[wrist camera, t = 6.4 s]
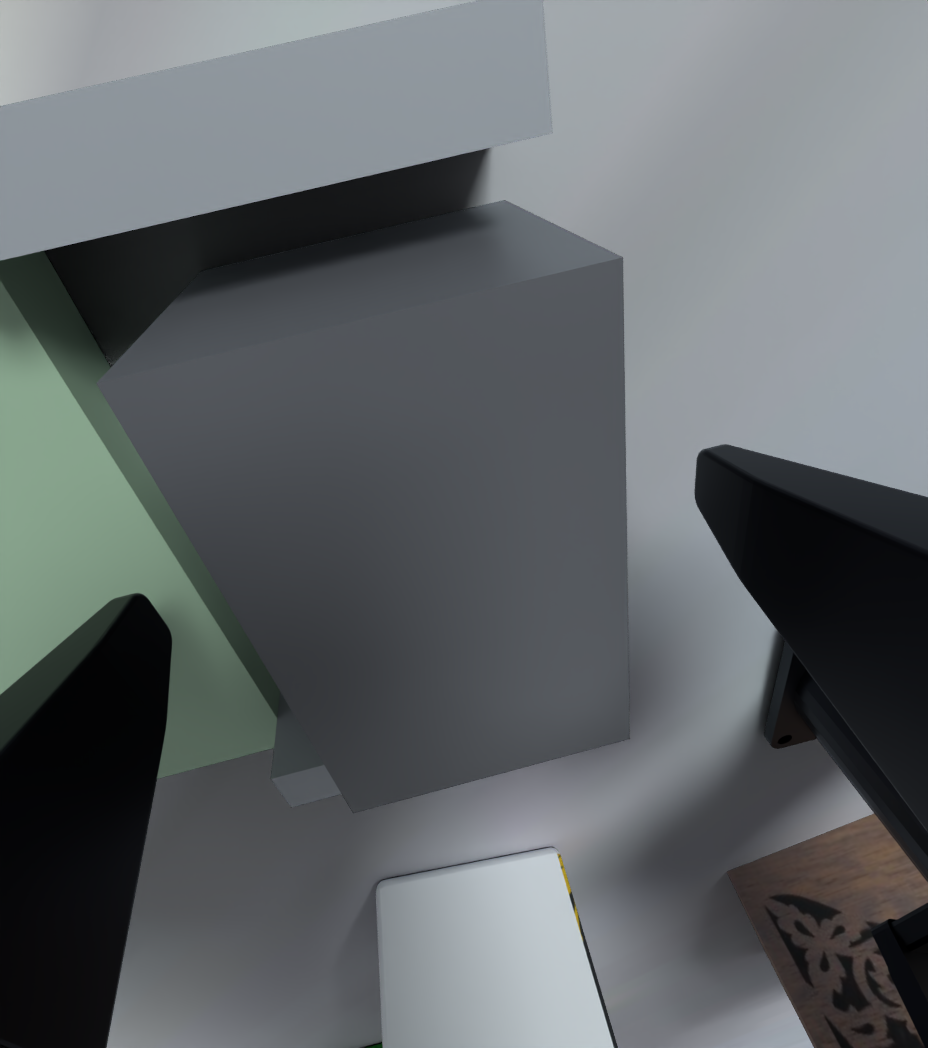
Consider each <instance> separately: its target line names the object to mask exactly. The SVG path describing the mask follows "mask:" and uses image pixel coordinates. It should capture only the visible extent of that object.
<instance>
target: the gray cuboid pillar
mask: <svg viewBox="0 0 928 1048" xmlns="http://www.w3.org/2000/svg"><path fill="white" fill-rule="evenodd" d="M96 384H97V386H98V387H99V389H100V391H101V392H102V394H103V396H104V397H105V399H106V401H107V402H108V404H109V406H110V407H111V409H112V411H113V412H114V414H115V416H116V417H117V419H118V421H119V422H120V424H121V426H122V428H123V429H124V431H125V433H126V434H127V436H128V438H129V439H130V441H131V443H132V444H133V446H134V448H135V449H136V451H137V453H138V454H139V456H140V458H141V459H142V461H143V463H144V464H145V466H146V468H147V469H148V471H149V473H150V474H151V476H152V478H153V479H154V481H155V483H156V484H157V486H158V488H159V489H160V491H161V493H162V494H163V496H164V498H165V499H166V501H167V503H168V504H169V506H170V508H171V509H172V511H173V513H174V514H175V516H176V518H177V520H178V521H179V523H180V525H181V526H182V528H183V530H184V531H185V533H186V535H187V536H188V538H189V540H190V541H191V543H192V545H193V546H194V548H195V550H196V551H197V553H198V555H199V556H200V558H201V560H202V561H203V563H204V565H205V566H206V568H207V570H208V571H209V573H210V575H211V576H212V578H213V580H214V581H215V583H216V585H217V586H218V588H219V590H220V591H221V593H222V595H223V596H224V598H225V600H226V601H227V603H228V605H229V606H230V608H231V610H232V612H233V613H234V615H235V617H236V618H237V620H238V622H239V623H240V625H241V627H242V628H243V630H244V632H245V633H246V635H247V637H248V638H249V640H250V642H251V643H252V645H253V647H254V648H255V650H256V652H257V653H258V655H259V657H260V658H261V660H262V662H263V663H264V665H265V667H266V668H267V670H268V672H269V673H270V675H271V677H272V678H273V680H274V682H275V683H276V685H277V687H278V688H279V690H280V692H281V693H282V695H283V697H284V699H285V700H286V702H287V704H288V705H289V707H290V709H291V710H292V712H293V714H294V715H295V717H296V719H297V720H298V722H299V724H300V725H301V727H302V729H303V730H304V732H305V734H306V735H307V737H308V739H309V740H310V742H311V744H312V745H313V747H314V749H315V750H316V752H317V754H318V755H319V757H320V759H321V760H322V762H323V764H324V765H325V767H326V769H327V770H328V772H329V774H330V775H331V777H332V779H333V780H334V782H335V784H336V785H337V787H338V789H339V791H340V792H341V794H342V796H343V797H344V799H345V801H346V802H347V804H348V806H349V807H350V809H351V811H352V812H353V813H356V812H360V811H363V810H367V809H371V808H375V807H378V806H382V805H386V804H389V803H393V802H397V801H401V800H404V799H408V798H412V797H415V796H419V795H423V794H427V793H430V792H434V791H438V790H442V789H445V788H449V787H453V786H456V785H460V784H464V783H468V782H471V781H475V780H479V779H482V778H486V777H490V776H494V775H497V774H501V773H505V772H508V771H512V770H516V769H520V768H523V767H527V766H531V765H534V764H538V763H542V762H546V761H549V760H553V759H557V758H561V757H564V756H568V755H572V754H575V753H579V752H583V751H587V750H590V749H594V748H598V747H601V746H605V745H609V744H613V743H616V742H620V741H624V740H627V739H630V726H629V655H628V584H627V513H626V442H625V371H624V300H623V257H621V256H619V255H617V254H615V253H613V252H611V251H609V250H607V249H605V248H603V247H601V246H598V245H596V244H594V243H592V242H590V241H588V240H586V239H584V238H582V237H580V236H578V235H576V234H574V233H572V232H570V231H567V230H565V229H563V228H561V227H559V226H557V225H555V224H553V223H551V222H549V221H547V220H545V219H543V218H541V217H539V216H537V215H534V214H532V213H530V212H528V211H526V210H524V209H522V208H520V207H518V206H516V205H514V204H512V203H510V202H508V201H506V200H503V201H499V202H494V203H490V204H486V205H482V206H477V207H473V208H469V209H465V210H460V211H456V212H452V213H447V214H443V215H439V216H435V217H430V218H426V219H422V220H418V221H413V222H409V223H405V224H400V225H396V226H392V227H388V228H383V229H379V230H375V231H370V232H366V233H362V234H358V235H353V236H349V237H345V238H341V239H336V240H332V241H328V242H323V243H319V244H315V245H311V246H306V247H302V248H298V249H294V250H289V251H285V252H281V253H276V254H272V255H268V256H264V257H259V258H255V259H251V260H247V261H242V262H238V263H234V264H229V265H225V266H221V267H217V268H212V269H208V270H204V271H201V272H200V273H199V274H198V275H197V276H196V277H195V278H194V279H193V281H192V282H191V283H190V284H189V285H188V286H187V287H186V288H185V289H184V290H183V291H182V292H181V293H180V294H179V295H178V297H177V298H176V299H175V300H174V301H173V302H172V303H171V304H170V305H169V306H168V307H167V308H166V309H165V310H164V311H163V313H162V314H161V315H160V316H159V317H158V318H157V319H156V320H155V321H154V322H153V323H152V324H151V325H150V326H149V327H148V328H147V330H146V331H145V332H144V333H143V334H142V335H141V336H140V337H139V338H138V339H137V340H136V341H135V342H134V343H133V344H132V346H131V347H130V348H129V349H128V350H127V351H126V352H125V353H124V354H123V355H122V356H121V357H120V358H119V359H118V360H117V362H116V363H115V364H114V365H113V366H112V367H111V368H110V369H109V370H108V371H107V372H106V373H105V374H104V375H103V376H102V378H101V379H100V380H99V381H98V382H97V383H96Z"/></svg>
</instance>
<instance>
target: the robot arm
mask: <svg viewBox="0 0 928 1048" xmlns="http://www.w3.org/2000/svg"><path fill="white" fill-rule="evenodd" d="M695 500H696V504H697V506H698V508H699V510H700V512H701V514H702V515H703V517H704V519H705V520H706V522H707V524H708V526H709V527H710V529H711V531H712V533H713V534H714V536H715V538H716V540H717V541H718V543H719V545H720V547H721V548H722V550H723V552H724V554H725V555H726V557H727V559H728V561H729V562H730V564H731V566H732V568H733V569H734V571H735V572H736V574H737V576H738V577H739V579H740V580H741V582H742V583H743V585H744V586H745V587H746V589H747V590H748V592H749V593H750V594H751V596H752V597H753V598H754V600H755V601H756V602H757V604H758V605H759V606H760V608H761V609H762V610H763V612H764V613H765V614H766V616H767V617H768V618H769V620H770V621H771V622H772V624H773V625H774V626H775V628H776V629H777V631H778V632H779V633H780V635H781V636H782V637H783V639H784V640H785V644H784V648H783V653H782V657H781V661H780V666H779V670H778V675H777V679H776V683H775V688H774V692H773V696H772V701H771V705H770V710H769V714H768V718H767V723H766V727H765V732H764V736H765V738H766V739H767V741H768V742H769V744H770V745H771V746H772V747H773V748H777V749H779V748H784V747H788V746H791V745H795V744H799V743H802V742H806V741H810V740H813V739H818V741H819V742H820V743H821V745H822V746H823V747H824V748H825V750H826V751H827V752H828V754H829V755H830V756H831V758H832V759H833V760H834V761H835V763H836V764H837V765H838V767H839V768H840V769H841V771H842V772H843V773H844V774H845V776H846V777H847V778H848V780H849V781H850V782H851V784H852V785H853V786H854V787H855V789H856V790H857V791H858V793H859V794H860V795H861V797H862V798H863V799H864V800H865V802H866V803H867V804H868V806H869V807H870V808H871V810H872V811H873V812H874V813H875V815H876V816H877V817H878V819H879V820H880V821H881V823H882V824H883V825H884V826H885V828H886V829H887V830H888V832H889V833H890V834H891V836H892V837H893V838H894V839H895V841H896V842H897V843H898V845H899V846H900V847H901V848H902V850H903V851H904V852H905V854H906V855H907V856H908V858H909V859H910V860H911V861H912V863H913V864H914V865H915V867H916V868H917V869H918V871H919V872H920V873H921V874H922V876H923V877H924V878H925V880H926V881H927V882H928V497H925V496H921V495H918V494H914V493H910V492H906V491H902V490H898V489H895V488H891V487H887V486H883V485H879V484H876V483H872V482H868V481H864V480H860V479H857V478H853V477H849V476H845V475H841V474H838V473H834V472H830V471H826V470H822V469H819V468H815V467H811V466H807V465H803V464H799V463H796V462H792V461H788V460H784V459H780V458H777V457H773V456H769V455H765V454H761V453H758V452H754V451H750V450H746V449H742V448H739V447H735V446H731V445H727V444H724V445H719V446H715V447H711V448H707V449H703V450H702V451H701V452H700V453H699V454H698V457H697V464H696V478H695ZM171 654H172V636H171V632H170V630H169V628H168V626H167V624H166V623H165V622H164V620H163V619H162V617H161V616H160V615H159V613H158V612H157V610H156V609H155V607H154V606H153V605H152V603H151V602H150V600H149V599H148V598H147V597H146V596H145V595H143V594H141V593H133V594H129V595H125V596H121V597H117V598H114V599H112V600H111V601H109V602H108V603H107V604H106V605H105V606H103V607H102V608H101V609H100V610H99V611H97V612H96V613H95V614H94V615H93V616H92V617H90V618H89V619H88V620H87V621H86V622H85V623H83V624H82V625H81V626H80V627H79V628H78V629H76V630H75V631H74V632H73V633H72V634H71V635H69V636H68V637H67V638H66V639H65V640H64V641H62V642H61V643H60V644H59V645H58V646H57V647H55V648H54V649H53V650H52V651H51V652H50V653H48V654H47V655H46V656H45V657H44V658H42V659H41V660H40V661H39V662H38V663H37V664H35V665H34V666H33V667H32V668H31V669H30V670H28V671H27V672H26V673H25V674H24V675H23V676H21V677H20V678H19V679H18V680H17V681H16V682H14V683H13V684H12V685H11V686H10V687H9V688H7V689H6V690H5V691H4V692H3V693H2V694H0V1048H106V1047H107V1042H108V1036H109V1031H110V1026H111V1020H112V1015H113V1010H114V1004H115V999H116V994H117V988H118V983H119V978H120V972H121V967H122V962H123V957H124V951H125V946H126V941H127V935H128V930H129V925H130V919H131V914H132V909H133V903H134V898H135V893H136V887H137V882H138V877H139V871H140V866H141V861H142V855H143V850H144V845H145V840H146V834H147V829H148V824H149V818H150V813H151V808H152V802H153V797H154V792H155V786H156V781H157V776H158V770H159V765H160V760H161V754H162V749H163V744H164V737H165V731H166V723H167V714H168V699H169V684H170V669H171ZM871 933H872V935H873V938H874V940H875V942H876V944H877V946H878V948H879V950H880V952H881V954H882V956H883V958H884V960H885V963H886V965H887V967H888V971H889V974H890V976H891V978H892V980H893V982H894V984H895V986H896V989H897V991H898V993H899V995H900V997H901V999H902V1001H903V1003H904V1005H905V1007H906V1009H907V1011H908V1013H909V1016H910V1018H911V1020H912V1022H913V1024H914V1026H915V1028H916V1030H917V1032H918V1034H919V1036H920V1038H921V1040H922V1042H923V1045H924V1047H925V1048H928V903H926V904H924V905H922V906H920V907H919V908H917V909H915V910H913V911H912V912H910V913H908V914H906V915H904V916H903V917H901V918H899V919H888V920H886V921H884V922H882V923H881V924H879V925H877V926H875V927H874V928H872V929H871Z"/></svg>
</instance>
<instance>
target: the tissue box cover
mask: <svg viewBox="0 0 928 1048" xmlns="http://www.w3.org/2000/svg"><path fill="white" fill-rule="evenodd" d="M727 874H728V876H729V878H730V880H731V882H732V884H733V886H734V888H735V890H736V892H737V894H738V896H739V898H740V901H741V903H742V905H743V907H744V909H745V911H746V913H747V915H748V917H749V919H750V921H751V923H752V925H753V928H754V930H755V932H756V934H757V936H758V938H759V940H760V942H761V944H762V946H763V948H764V950H765V952H766V954H767V956H768V958H769V960H770V962H771V964H772V966H773V968H774V970H775V972H776V974H777V976H778V978H779V980H780V982H781V984H782V986H783V988H784V990H785V992H786V994H787V996H788V997H789V999H790V1001H791V1003H792V1005H793V1007H794V1009H795V1011H796V1013H797V1015H798V1017H799V1019H800V1021H801V1023H802V1025H803V1027H804V1029H805V1031H806V1033H807V1035H808V1037H809V1039H810V1041H811V1042H812V1044H813V1046H814V1048H925V1047H924V1045H923V1042H922V1040H921V1038H920V1036H919V1034H918V1032H917V1030H916V1028H915V1026H914V1024H913V1022H912V1020H911V1018H910V1016H909V1013H908V1011H907V1009H906V1007H905V1005H904V1003H903V1001H902V999H901V997H900V995H899V993H898V991H897V989H896V986H895V984H894V982H893V980H892V978H891V976H890V974H889V971H888V967H887V965H886V963H885V960H884V958H883V956H882V954H881V952H880V950H879V948H878V946H877V944H876V942H875V940H874V938H873V935H872V933H871V929H872V928H874V927H875V926H877V925H879V924H881V923H882V922H884V921H886V920H888V919H899V918H901V917H903V916H904V915H906V914H908V913H910V912H912V911H913V910H915V909H917V908H919V907H920V906H922V905H924V904H926V903H928V882H927V881H926V880H925V878H924V877H923V876H922V874H921V873H920V872H919V871H918V869H917V868H916V867H915V865H914V864H913V863H912V861H911V860H910V859H909V858H908V856H907V855H906V854H905V852H904V851H903V850H902V848H901V847H900V846H899V845H898V843H897V842H896V841H895V839H894V838H893V837H892V836H891V834H890V833H889V832H888V830H887V829H886V828H885V826H884V825H883V824H882V823H881V821H880V820H879V819H878V817H877V816H876V815H875V814H872V815H870V816H867V817H865V818H862V819H859V820H857V821H854V822H852V823H849V824H847V825H844V826H842V827H839V828H837V829H834V830H831V831H829V832H826V833H824V834H821V835H819V836H816V837H814V838H811V839H809V840H806V841H804V842H801V843H798V844H796V845H793V846H791V847H788V848H786V849H783V850H781V851H778V852H776V853H773V854H770V855H768V856H765V857H763V858H760V859H758V860H755V861H753V862H750V863H748V864H745V865H742V866H740V867H737V868H735V869H732V870H730V871H727Z"/></svg>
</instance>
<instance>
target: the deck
mask: <svg viewBox="0 0 928 1048" xmlns="http://www.w3.org/2000/svg"><path fill="white" fill-rule="evenodd" d="M552 133H553V131H552V117H551V103H550V90H549V76H548V62H547V49H546V35H545V22H544V8H543V0H478V1H473V2H469V3H464V4H460V5H455V6H451V7H446V8H442V9H437V10H433V11H428V12H424V13H419V14H415V15H410V16H405V17H401V18H396V19H392V20H387V21H383V22H378V23H374V24H369V25H365V26H360V27H356V28H351V29H347V30H342V31H338V32H333V33H329V34H324V35H320V36H315V37H311V38H306V39H302V40H297V41H293V42H288V43H283V44H279V45H274V46H270V47H265V48H261V49H256V50H252V51H247V52H243V53H238V54H234V55H229V56H225V57H220V58H216V59H211V60H207V61H202V62H198V63H193V64H189V65H184V66H180V67H175V68H171V69H166V70H161V71H157V72H152V73H148V74H143V75H139V76H134V77H130V78H125V79H121V80H116V81H112V82H107V83H103V84H98V85H94V86H89V87H85V88H80V89H76V90H71V91H67V92H62V93H58V94H53V95H49V96H44V97H39V98H35V99H30V100H26V101H21V102H17V103H12V104H8V105H3V106H0V694H2V693H3V692H4V691H5V690H6V689H7V688H9V687H10V686H11V685H12V684H13V683H14V682H16V681H17V680H18V679H19V678H20V677H21V676H23V675H24V674H25V673H26V672H27V671H28V670H30V669H31V668H32V667H33V666H34V665H35V664H37V663H38V662H39V661H40V660H41V659H42V658H44V657H45V656H46V655H47V654H48V653H50V652H51V651H52V650H53V649H54V648H55V647H57V646H58V645H59V644H60V643H61V642H62V641H64V640H65V639H66V638H67V637H68V636H69V635H71V634H72V633H73V632H74V631H75V630H76V629H78V628H79V627H80V626H81V625H82V624H83V623H85V622H86V621H87V620H88V619H89V618H90V617H92V616H93V615H94V614H95V613H96V612H97V611H99V610H100V609H101V608H102V607H103V606H105V605H106V604H107V603H108V602H109V601H111V600H112V599H114V598H117V597H121V596H125V595H129V594H133V593H141V594H143V595H145V596H146V597H147V598H148V599H149V600H150V602H151V603H152V605H153V606H154V607H155V609H156V610H157V612H158V613H159V615H160V616H161V617H162V619H163V620H164V622H165V623H166V624H167V626H168V628H169V630H170V632H171V636H172V654H171V669H170V684H169V699H168V714H167V723H166V731H165V737H164V744H163V749H162V754H161V760H160V765H159V770H158V776H157V779H159V778H163V777H166V776H170V775H174V774H178V773H182V772H185V771H189V770H193V769H197V768H200V767H204V766H208V765H212V764H216V763H219V762H223V761H227V760H231V759H235V758H238V757H242V756H246V755H250V754H253V753H257V752H261V751H265V750H269V749H272V748H274V753H273V762H272V771H271V780H272V782H273V783H274V784H275V786H276V787H277V789H278V790H279V791H280V793H281V794H282V796H283V797H284V798H285V800H286V801H287V803H288V804H289V805H290V807H291V808H292V807H296V806H299V805H303V804H307V803H311V802H314V801H318V800H322V799H325V798H329V797H333V796H337V795H340V794H341V792H340V791H339V789H338V787H337V785H336V784H335V782H334V780H333V779H332V777H331V775H330V774H329V772H328V770H327V769H326V767H325V765H324V764H323V762H322V760H321V759H320V757H319V755H318V754H317V752H316V750H315V749H314V747H313V745H312V744H311V742H310V740H309V739H308V737H307V735H306V734H305V732H304V730H303V729H302V727H301V725H300V724H299V722H298V720H297V719H296V717H295V715H294V714H293V712H292V710H291V709H290V707H289V705H288V704H287V702H286V700H285V699H284V697H283V695H282V693H281V692H280V690H279V688H278V687H277V685H276V683H275V682H274V680H273V678H272V677H271V675H270V673H269V672H268V670H267V668H266V667H265V665H264V663H263V662H262V660H261V658H260V657H259V655H258V653H257V652H256V650H255V648H254V647H253V645H252V643H251V642H250V640H249V638H248V637H247V635H246V633H245V632H244V630H243V628H242V627H241V625H240V623H239V622H238V620H237V618H236V617H235V615H234V613H233V612H232V610H231V608H230V606H229V605H228V603H227V601H226V600H225V598H224V596H223V595H222V593H221V591H220V590H219V588H218V586H217V585H216V583H215V581H214V580H213V578H212V576H211V575H210V573H209V571H208V570H207V568H206V566H205V565H204V563H203V561H202V560H201V558H200V556H199V555H198V553H197V551H196V550H195V548H194V546H193V545H192V543H191V541H190V540H189V538H188V536H187V535H186V533H185V531H184V530H183V528H182V526H181V525H180V523H179V521H178V520H177V518H176V516H175V514H174V513H173V511H172V509H171V508H170V506H169V504H168V503H167V501H166V499H165V498H164V496H163V494H162V493H161V491H160V489H159V488H158V486H157V484H156V483H155V481H154V479H153V478H152V476H151V474H150V473H149V471H148V469H147V468H146V466H145V464H144V463H143V461H142V459H141V458H140V456H139V454H138V453H137V451H136V449H135V448H134V446H133V444H132V443H131V441H130V439H129V438H128V436H127V434H126V433H125V431H124V429H123V428H122V426H121V424H120V422H119V421H118V419H117V417H116V416H115V414H114V412H113V411H112V409H111V407H110V406H109V404H108V402H107V401H106V399H105V397H104V396H103V394H102V392H101V391H100V389H99V387H98V386H97V384H96V383H97V382H98V381H99V380H100V379H101V378H102V376H103V375H104V374H105V373H106V372H107V371H108V370H109V369H110V368H111V367H110V366H109V364H108V362H107V360H106V359H105V357H104V355H103V353H102V352H101V350H100V348H99V346H98V345H97V343H96V341H95V339H94V338H93V336H92V334H91V332H90V331H89V329H88V327H87V325H86V324H85V322H84V320H83V318H82V317H81V315H80V313H79V311H78V310H77V308H76V306H75V304H74V303H73V301H72V299H71V297H70V296H69V294H68V292H67V290H66V289H65V287H64V285H63V283H62V282H61V280H60V278H59V276H58V275H57V273H56V271H55V269H54V268H53V266H52V264H51V263H50V261H49V259H48V257H47V256H46V254H45V252H44V250H48V249H53V248H57V247H61V246H66V245H70V244H74V243H79V242H83V241H87V240H92V239H96V238H100V237H105V236H109V235H114V234H118V233H122V232H127V231H131V230H135V229H140V228H144V227H148V226H153V225H157V224H161V223H166V222H170V221H174V220H179V219H183V218H187V217H192V216H196V215H200V214H205V213H209V212H213V211H218V210H222V209H226V208H231V207H235V206H239V205H244V204H248V203H252V202H257V201H261V200H265V199H270V198H274V197H278V196H283V195H287V194H291V193H296V192H300V191H304V190H309V189H313V188H317V187H322V186H326V185H330V184H335V183H339V182H343V181H348V180H352V179H356V178H361V177H365V176H369V175H374V174H378V173H382V172H387V171H391V170H395V169H400V168H404V167H408V166H413V165H417V164H421V163H426V162H430V161H434V160H439V159H443V158H447V157H452V156H456V155H460V154H465V153H469V152H473V151H478V150H482V149H487V148H491V147H495V146H500V145H504V144H508V143H513V142H517V141H521V140H526V139H530V138H534V137H539V136H543V135H547V134H552Z"/></svg>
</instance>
